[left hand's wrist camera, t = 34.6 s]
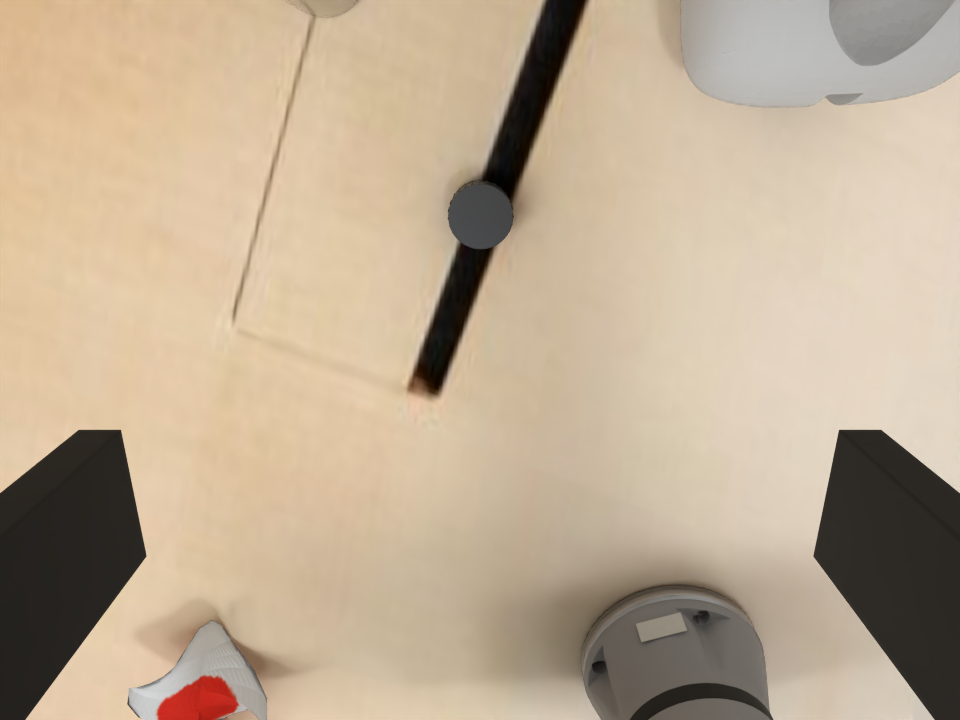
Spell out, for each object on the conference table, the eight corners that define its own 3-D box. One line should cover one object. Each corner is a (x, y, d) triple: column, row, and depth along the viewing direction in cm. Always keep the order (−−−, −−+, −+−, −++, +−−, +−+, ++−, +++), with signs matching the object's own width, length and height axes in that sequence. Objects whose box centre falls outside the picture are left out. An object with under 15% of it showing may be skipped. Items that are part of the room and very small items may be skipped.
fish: (81, 764, 57) (77, 848, 49) (160, 586, 59) (170, 637, 51) (206, 775, 63) (223, 853, 54) (275, 611, 64) (303, 661, 56)
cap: (455, 173, 45) (454, 176, 43) (518, 186, 46) (520, 190, 44) (443, 236, 47) (442, 242, 45) (504, 249, 47) (506, 255, 45)
